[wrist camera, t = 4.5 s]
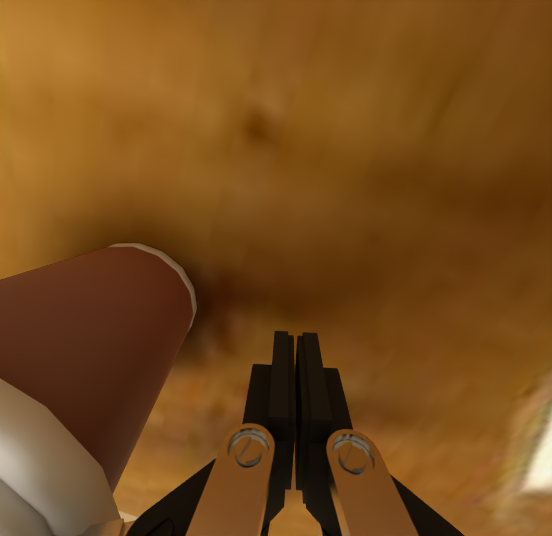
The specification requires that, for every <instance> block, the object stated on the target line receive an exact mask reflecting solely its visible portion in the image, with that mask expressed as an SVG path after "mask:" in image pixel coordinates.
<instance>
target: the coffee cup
mask: <svg viewBox="0 0 552 536" xmlns="http://www.w3.org/2000/svg"><path fill="white" fill-rule="evenodd" d="M196 311H197V303H196V296H195V289H194V287H193V285H192V283H191V281H190V280H189V278H188V276H187V275H186V273H185V271H184V270H183V268H182V267H181V266H180V265H178V264H177V263H176V262H175V261H174V260H172V259H171V258H170V257H169V256H168V255H166V254H165V253H164V252H162V251H160V250H157V249H154V248H151V247H149V246H146V245H143V244H141V243H116V244H114V245H111V246H109V247H106V248H103V249H99V250H96V251H93V252H90V253H86V254H83V255H80V256H77V257H73V258H70V259H67V260H63V261H60V262H57V263H54V264H50V265H47V266H44V267H41V268H37V269H34V270H31V271H27V272H24V273H21V274H18V275H14V276H11V277H8V278H5V279H1V280H0V536H53V535H56V536H77V535H80V534H83V533H84V531H85V530H86V529H87V528H88V527H89V526H90V525H94V524H99V523H104V522H109V521H113V520H118V519H121V517H120V515H119V512H118V509H117V506H116V504H115V501H114V498H113V495H112V494H113V492H114V490H115V488H116V486H117V484H118V481H119V479H120V477H121V475H122V473H123V471H124V469H125V466H126V464H127V462H128V460H129V458H130V456H131V453H132V451H133V449H134V447H135V445H136V443H137V441H138V438H139V436H140V434H141V432H142V430H143V428H144V425H145V423H146V421H147V419H148V417H149V415H150V413H151V410H152V408H153V406H154V404H155V402H156V400H157V398H158V395H159V393H160V391H161V389H162V387H163V385H164V382H165V380H166V378H167V376H168V374H169V372H170V370H171V367H172V365H173V363H174V361H175V359H176V357H177V354H178V352H179V350H180V348H181V346H182V344H183V342H184V339H185V337H186V335H187V333H188V331H189V330H190V328H191V326H192V323H193V320H194V317H195V314H196Z"/></svg>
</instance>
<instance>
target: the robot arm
mask: <svg viewBox="0 0 552 536" xmlns="http://www.w3.org/2000/svg"><path fill="white" fill-rule="evenodd" d="M294 441H295V474H296V490H302V493H303V503H304V504H306V509H307V510H308V511H309V512H310V513H311V514H312V516H313V517H314V518H315V519H316V522H317V531H318V536H464V535H463V534H462V533H461V532H460V531H459V530H457V529H456V528H455V527H454V526H452V525H451V524H450V523H449V522H448V521H446V520H445V519H444V518H443V517H441V516H440V515H439V514H438V513H437V512H435V511H434V510H433V509H432V508H430V507H429V506H428V505H427V504H426V503H424V502H423V501H422V500H421V499H420V498H418V497H417V496H416V495H415V494H413V493H412V492H411V491H410V490H409V489H407V488H406V487H405V486H404V485H402V484H401V483H400V482H399V481H398V480H396V479H395V478H394V477H393V476H392V475H390V473H389V471H388V469H387V467H386V465H385V463H384V461H383V459H382V457H381V454H380V452H379V450H378V449H377V447H376V446H375V444H374V443H373V442H372V441H371V440H370V439H369V438H368V437H367V436H365V435H364V434H362V433H360V432H358V431H355V430H353V427H352V423H351V419H350V415H349V411H348V407H347V403H346V399H345V395H344V391H343V387H342V383H341V379H340V375H339V372H338V369H337V368H323V364H322V358H321V353H320V347H319V341H318V336H317V333H306V332H303V336H298V337H297V350H296V364H295V365H294V337H293V336H292V335H288V332H286V331H275V334H274V347H273V360H272V365H264V364H253V367H252V372H251V378H250V384H249V389H248V395H247V401H246V406H245V412H244V418H243V423H242V425H239V426H237V427H235V428H233V429H232V430H231V431H230V432H229V433H228V434H227V435H226V437H225V439H224V441H223V443H222V445H221V448H220V450H219V453H218V455H217V458H216V459H214V460H213V461H212V462H210V463H209V464H208V465H206V466H205V467H204V468H202V469H201V470H200V471H198V472H197V473H196V474H194V475H193V476H192V477H190V478H189V479H188V480H186V481H185V482H184V483H182V484H181V485H180V486H178V487H177V488H176V489H174V490H173V491H172V492H170V493H169V494H168V495H167V496H165V497H164V498H163V499H161V500H160V501H159V502H157V503H156V504H155V505H153V506H152V507H151V508H149V509H148V510H147V511H145V512H144V513H143V514H142V515H141V516H140V517H139V518H138V519H137V520H135V521H131V522H126V523H124V519H118V520H113V521H109V522H104V523H99V524H94V525H90V526H89V527H88V528H87V529H86V530H85V531H84V533H83V534H80V535H77V536H269V535H270V530H271V520H272V519H273V518H274V517H275V516H276V515H277V514H278V513H279V512H280V511H281V509H282V508H283V507H284V500H285V489H287V490H291V479H292V467H293V454H294ZM53 536H56V535H53Z"/></svg>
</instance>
